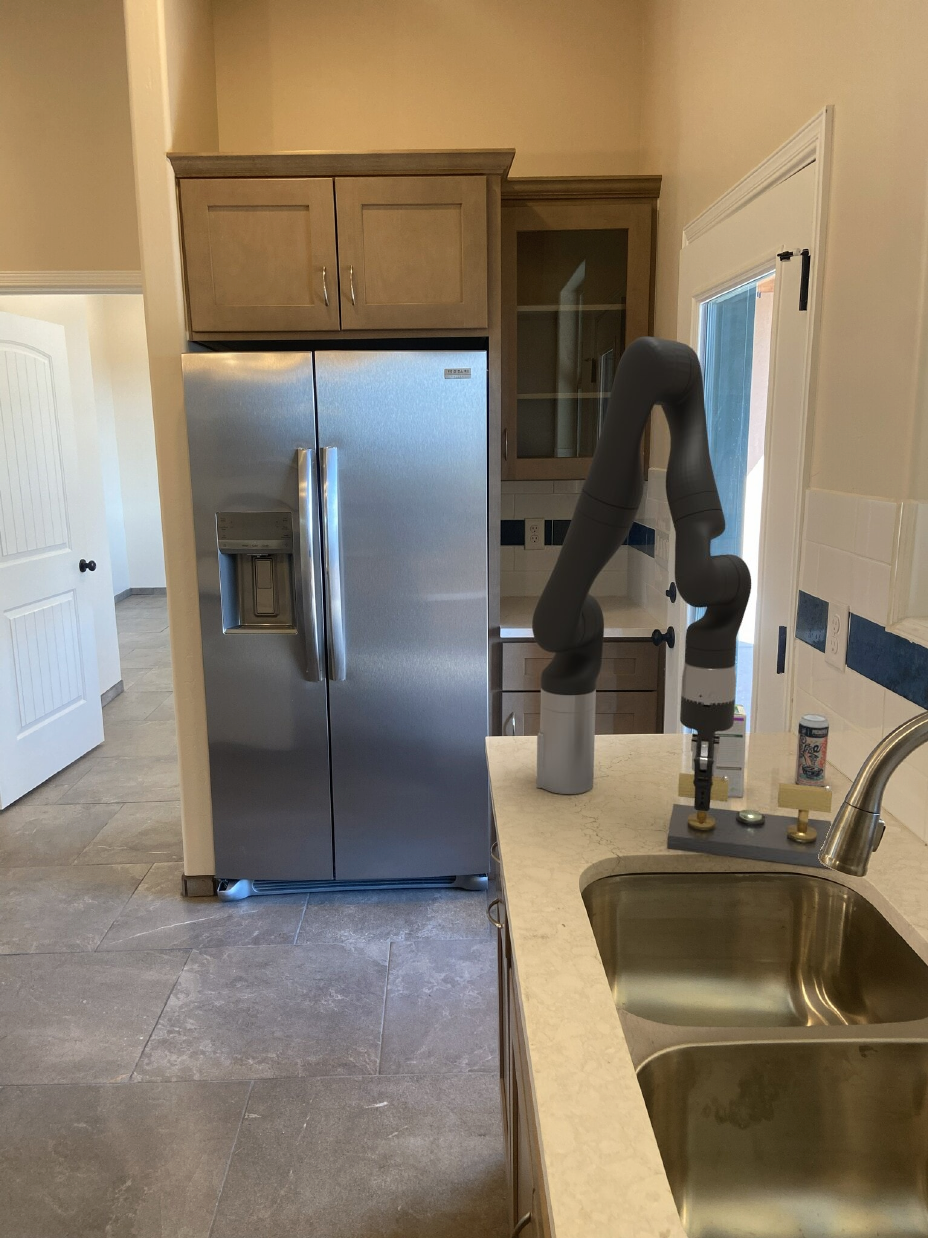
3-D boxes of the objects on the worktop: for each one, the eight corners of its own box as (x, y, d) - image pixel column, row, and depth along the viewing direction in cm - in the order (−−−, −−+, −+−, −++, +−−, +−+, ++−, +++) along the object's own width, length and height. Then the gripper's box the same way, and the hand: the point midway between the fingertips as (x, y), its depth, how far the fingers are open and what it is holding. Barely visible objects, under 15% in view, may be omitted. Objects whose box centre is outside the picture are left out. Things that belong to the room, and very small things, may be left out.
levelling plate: (667, 848, 130) (668, 829, 129) (673, 815, 141) (673, 797, 141) (837, 869, 123) (839, 849, 123) (829, 833, 135) (831, 814, 134)
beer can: (796, 788, 152) (801, 720, 150) (792, 778, 157) (797, 712, 154) (826, 790, 151) (831, 722, 149) (822, 780, 155) (827, 714, 153)
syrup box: (743, 798, 148) (748, 714, 145) (706, 795, 149) (711, 712, 146) (740, 785, 153) (745, 704, 151) (704, 783, 155) (709, 702, 152)
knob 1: (676, 827, 132) (678, 776, 130) (677, 816, 136) (680, 766, 134) (725, 833, 130) (728, 781, 128) (725, 822, 134) (728, 771, 132)
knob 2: (776, 839, 128) (780, 786, 126) (775, 827, 132) (779, 776, 130) (828, 845, 126) (833, 791, 124) (826, 833, 130) (830, 781, 128)
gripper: (684, 679, 136) (679, 786, 140) (678, 704, 124) (672, 822, 127) (735, 683, 134) (729, 792, 138) (734, 709, 121) (728, 828, 125)
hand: (702, 806), depth 132 cm, fingers closed on knob 1, 2 cm apart
